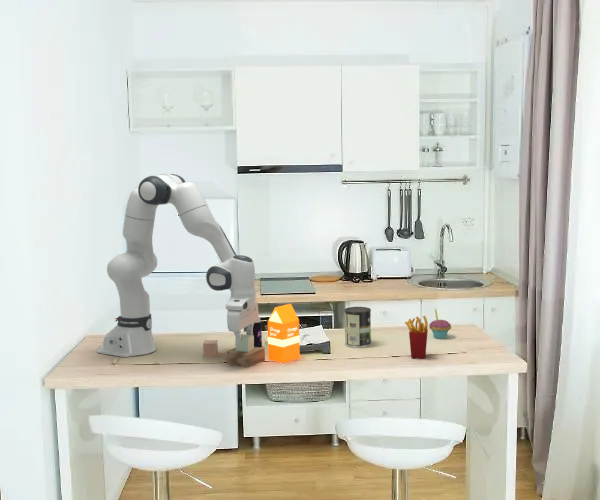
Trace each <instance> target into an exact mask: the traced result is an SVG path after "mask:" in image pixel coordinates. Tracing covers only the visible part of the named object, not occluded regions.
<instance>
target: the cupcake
mask: <svg viewBox="0 0 600 500" xmlns="http://www.w3.org/2000/svg"><path fill="white" fill-rule="evenodd" d="M437 311H438V310H437V308H434V313H435V320H432V321H431V322H430V323H429V324H428V326H429V329H430V330H431V332H432V335H433V338H434V339H437V340H442V339H443V340H444V339H446V338H447V335H448V332H449V331H451V329H452V325H451V323H450V322H449V321H447V320H445V319H439V318H438V317H439V316H438V312H437Z"/></svg>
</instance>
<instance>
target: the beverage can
mask: <svg viewBox="0 0 600 500" xmlns="http://www.w3.org/2000/svg"><path fill="white" fill-rule="evenodd" d="M262 331H263V330H262V320H261V318H260V317H258V320H257V321H255V322H254V325H253V329H252V334H251V335H254V347H260V348H263V339H262V338H263V336H262V335H263V334H262Z"/></svg>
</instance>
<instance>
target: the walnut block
mask: <svg viewBox="0 0 600 500" xmlns="http://www.w3.org/2000/svg"><path fill="white" fill-rule="evenodd" d="M265 355H266V351H265V348H264V347H261V348H260V347H254V349H253V350H251V351H249V352H241V351H236V347H234V348H231V349H229V350H225V357H226V358H225V359H226V360H225V361H226V362H225V363H226V365H230V364H231V366H235V365H237V366H236V367H241V366H243V368H247V367H248V369H249V367H250V368H251V367H254V366H256V365H258V363H259V364H261V363H263V362H265V361H266V356H265ZM260 362H261V363H260Z"/></svg>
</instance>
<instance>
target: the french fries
mask: <svg viewBox="0 0 600 500" xmlns="http://www.w3.org/2000/svg"><path fill="white" fill-rule="evenodd" d="M422 318H423V320H424V322H422V319H421V318H420V317H419V316H416V317H415V318H414V317H413V318H412V319H411V318H409V319H408V321H405V322H404V324H405V325H406V326H407V328H408V330H409V332H408V337H409V338H408V339H409V345H410V348H409V349H410V358H411V359H416V360H419V359H420V360H425V359H426V355H427V353H426V352H427V344H428V343H427V342H428V334H429V333H428V332H429V330H428V329H429V328H428V326H429V324H428V319H427V317H426V315H423V316H422ZM414 322H415V323H414Z"/></svg>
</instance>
